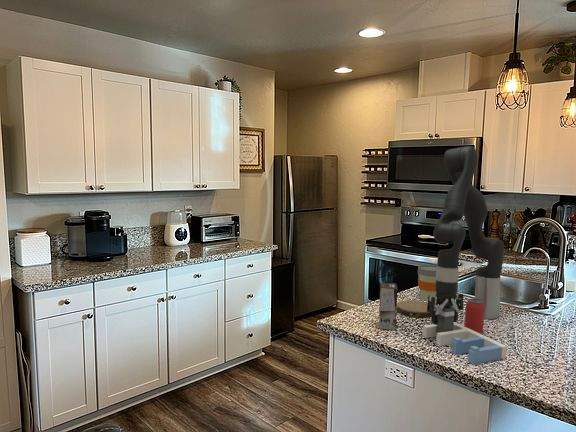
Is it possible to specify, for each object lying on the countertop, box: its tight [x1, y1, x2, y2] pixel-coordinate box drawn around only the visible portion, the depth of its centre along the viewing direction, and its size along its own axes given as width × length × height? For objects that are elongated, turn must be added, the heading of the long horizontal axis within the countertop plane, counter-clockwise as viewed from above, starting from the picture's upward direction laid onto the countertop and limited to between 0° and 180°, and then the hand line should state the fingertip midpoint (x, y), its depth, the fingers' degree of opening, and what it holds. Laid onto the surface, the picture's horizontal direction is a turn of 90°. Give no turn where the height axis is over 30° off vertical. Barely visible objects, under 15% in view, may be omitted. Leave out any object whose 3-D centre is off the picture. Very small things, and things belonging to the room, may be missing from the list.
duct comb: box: [422, 322, 508, 365], centre depth 148 cm, size 14×24×5 cm, turn 21°
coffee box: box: [378, 282, 398, 331], centre depth 167 cm, size 9×6×16 cm
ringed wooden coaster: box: [396, 299, 432, 319], centre depth 184 cm, size 16×16×3 cm
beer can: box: [464, 297, 485, 334], centre depth 162 cm, size 7×7×12 cm
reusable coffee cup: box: [417, 264, 437, 302], centre depth 203 cm, size 13×13×15 cm
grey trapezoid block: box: [436, 307, 454, 337], centre depth 154 cm, size 4×4×12 cm
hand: (444, 322), depth 154 cm, fingers open, 8 cm apart
